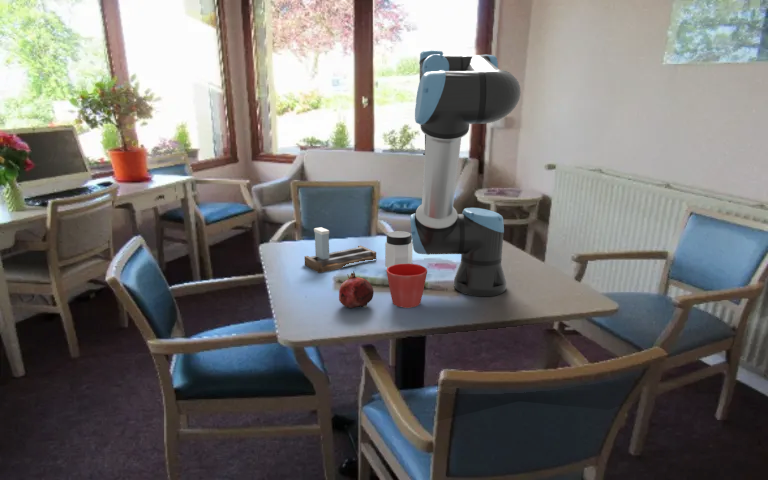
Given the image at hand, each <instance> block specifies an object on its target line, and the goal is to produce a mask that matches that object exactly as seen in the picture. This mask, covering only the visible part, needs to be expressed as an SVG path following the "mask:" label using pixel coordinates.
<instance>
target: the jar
mask: <svg viewBox="0 0 768 480" xmlns="http://www.w3.org/2000/svg"><path fill="white" fill-rule="evenodd" d="M384 246H385V247H384V249H385V253H384V255H385V259H384V260H385V267H387V268H388V267H390V266H393V265H397V264H413V243H412V233H410V232H408V231H403V230H402V231H401V230H397V231H396V230H395V231H390V232H387V233H386V242H385V244H384Z"/></svg>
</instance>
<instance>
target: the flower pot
mask: <svg viewBox="0 0 768 480" xmlns="http://www.w3.org/2000/svg"><path fill="white" fill-rule="evenodd" d="M386 275H387V276H386V277H387V281H388V287H389V292H390V297H391V302H392V304H393V305H394V306H396V307H398V308H406V309H408V308H409V309H411V308H415V307H418V306H420V305H421V302H422V298H423V295H424V294H423V293H424V290H425V285H426V279H427V275H428V269H427V268H426V267H425V266H423V265H420V264H415V263H412V264H397V265H393V266H390V267H388V268H387V270H386Z"/></svg>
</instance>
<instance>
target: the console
mask: <svg viewBox="0 0 768 480" xmlns="http://www.w3.org/2000/svg"><path fill="white" fill-rule="evenodd" d="M317 258H319V257H317V256H316V255H312V256H308V255H305V256H304V266H306V267H308V268H309V269H311V270H313V272H316V273H317V274H320V273H325V272H331V271H335V270H338V269H343V268H342V267H343V266H345V265H346V264H349V263H354V262H359V261H365V260H373V259H376V260H377V252H376V251H374V250H373V249H369V248H367V247H365V246H363V245H357V247H354V248H348V249H347V248H346V249H343V250H338V251H334V252H333V251H332V252H329V259H325V260H320V261H317Z"/></svg>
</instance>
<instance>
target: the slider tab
mask: <svg viewBox="0 0 768 480" xmlns="http://www.w3.org/2000/svg"><path fill="white" fill-rule="evenodd" d="M313 232H314V247H315V248H314V249H315V250H314V251H315V256H317V257H319V258H317V261H320V260H325V259H329V253H330V238H329V237H330V230H329V229H327V228H324V227H322V226H321V227H315V228H313Z"/></svg>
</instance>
